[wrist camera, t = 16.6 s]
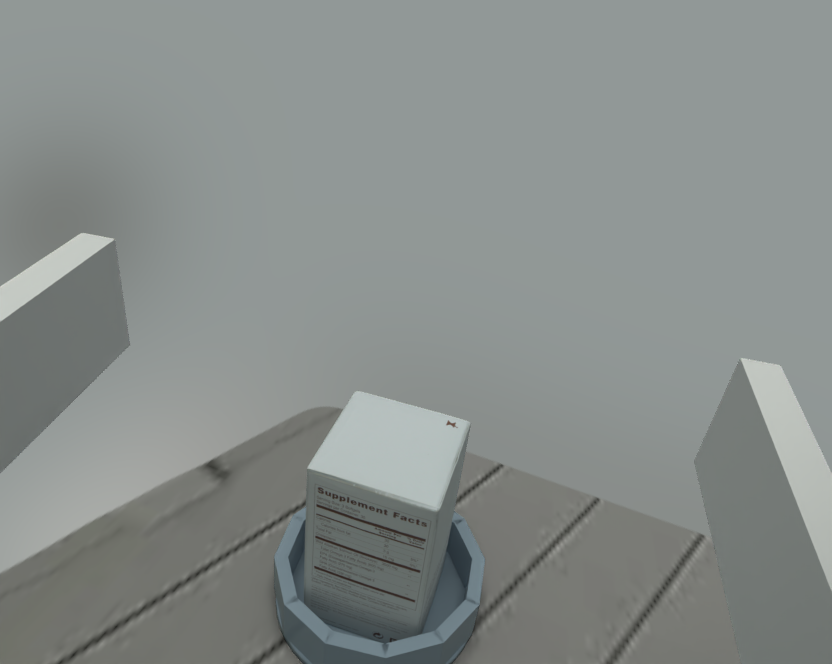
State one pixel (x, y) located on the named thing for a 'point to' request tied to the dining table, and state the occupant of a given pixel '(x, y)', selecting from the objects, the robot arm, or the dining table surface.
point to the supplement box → (381, 516)
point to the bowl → (365, 658)
